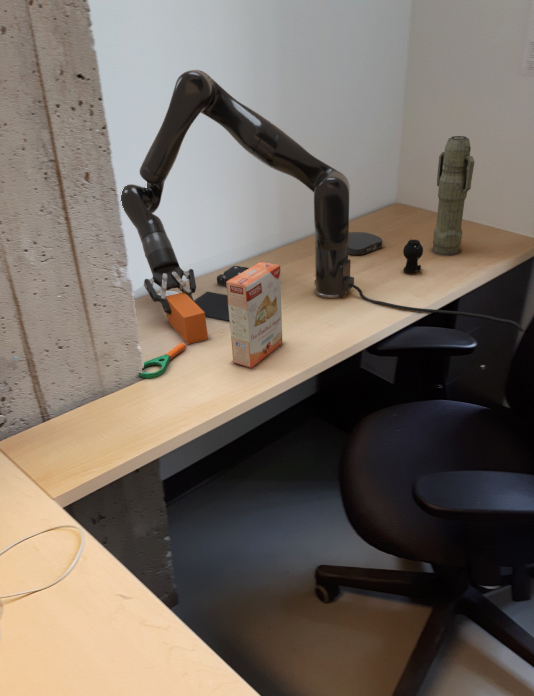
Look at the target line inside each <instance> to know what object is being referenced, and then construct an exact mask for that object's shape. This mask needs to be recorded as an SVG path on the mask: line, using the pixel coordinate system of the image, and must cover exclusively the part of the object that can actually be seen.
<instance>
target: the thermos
mask: <svg viewBox="0 0 534 696" xmlns="http://www.w3.org/2000/svg"><path fill="white" fill-rule="evenodd" d="M471 149H472V148H471V141H470V138H469V137H467V136H464V135H454V136H451V137H449V138H448V139H447V141H446V144H445V147H444V151H442V152H441V153H440V155H439V156H438V166H437V175H436V186H437V187H438V190H437V198H438V206H437V215H436V224H435V227H434V230H433V236H432V252H433V253H434V254H436V255H440V256H455V255H457V254H458V253H460V248H461V247H460V246H461V244H462V238H463V229H462V223H463V217H464V216H463V215H464V207H465V202H466V198H467V197H468V192H469V191H470V190H471V189H472V181H473V174H474V167H475V160H474V157H473V156H472V155H471Z"/></svg>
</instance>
